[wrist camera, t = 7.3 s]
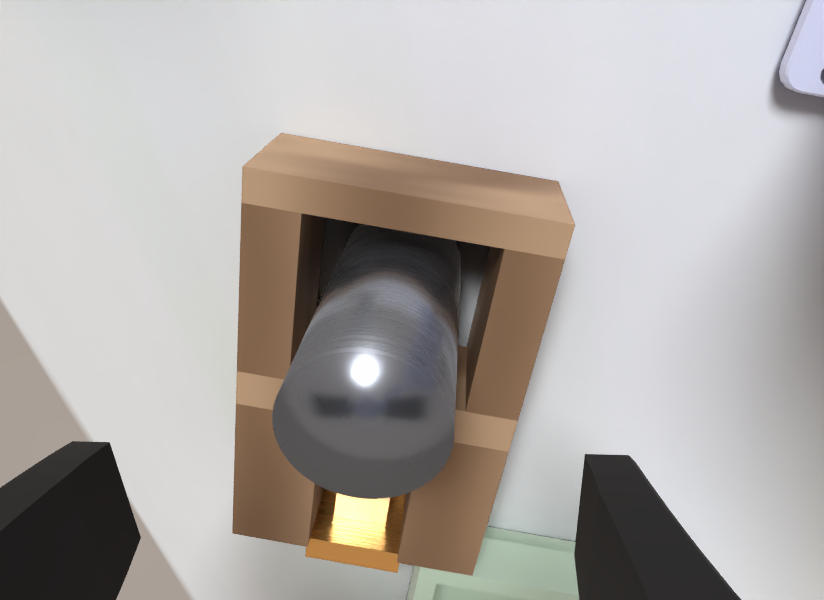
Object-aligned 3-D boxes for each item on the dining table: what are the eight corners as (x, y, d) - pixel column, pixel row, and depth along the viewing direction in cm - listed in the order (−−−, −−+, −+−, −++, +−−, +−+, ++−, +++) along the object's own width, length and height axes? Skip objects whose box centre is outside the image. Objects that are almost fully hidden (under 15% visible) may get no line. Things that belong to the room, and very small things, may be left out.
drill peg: (471, 220, 17) (470, 371, 10) (449, 325, 18) (437, 512, 12) (350, 199, 17) (276, 337, 10) (338, 305, 18) (268, 482, 12)
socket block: (558, 181, 16) (574, 224, 13) (472, 499, 21) (472, 576, 18) (281, 132, 16) (242, 166, 13) (262, 461, 21) (232, 533, 18)
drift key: (433, 371, 19) (427, 427, 17) (405, 507, 21) (397, 572, 19) (339, 354, 19) (321, 409, 17) (323, 493, 21) (305, 556, 19)
